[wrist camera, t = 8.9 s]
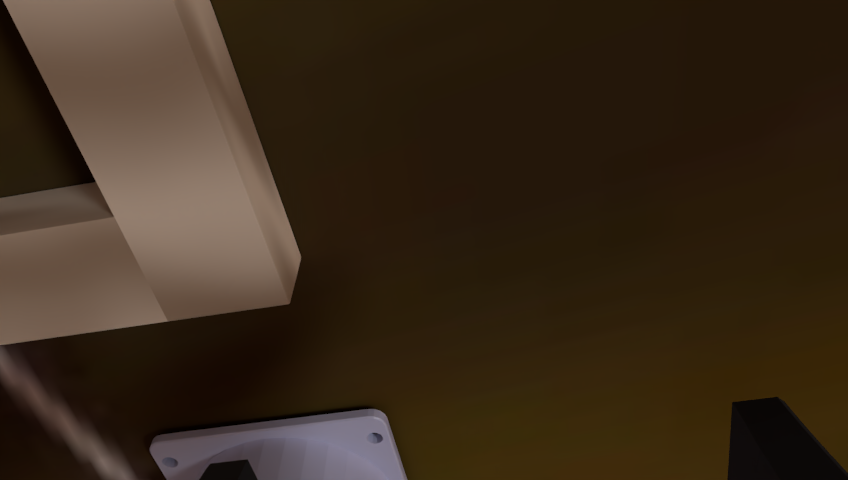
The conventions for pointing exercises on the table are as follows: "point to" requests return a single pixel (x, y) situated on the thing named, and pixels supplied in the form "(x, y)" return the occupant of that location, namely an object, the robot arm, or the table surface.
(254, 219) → the board
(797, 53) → the table surface
